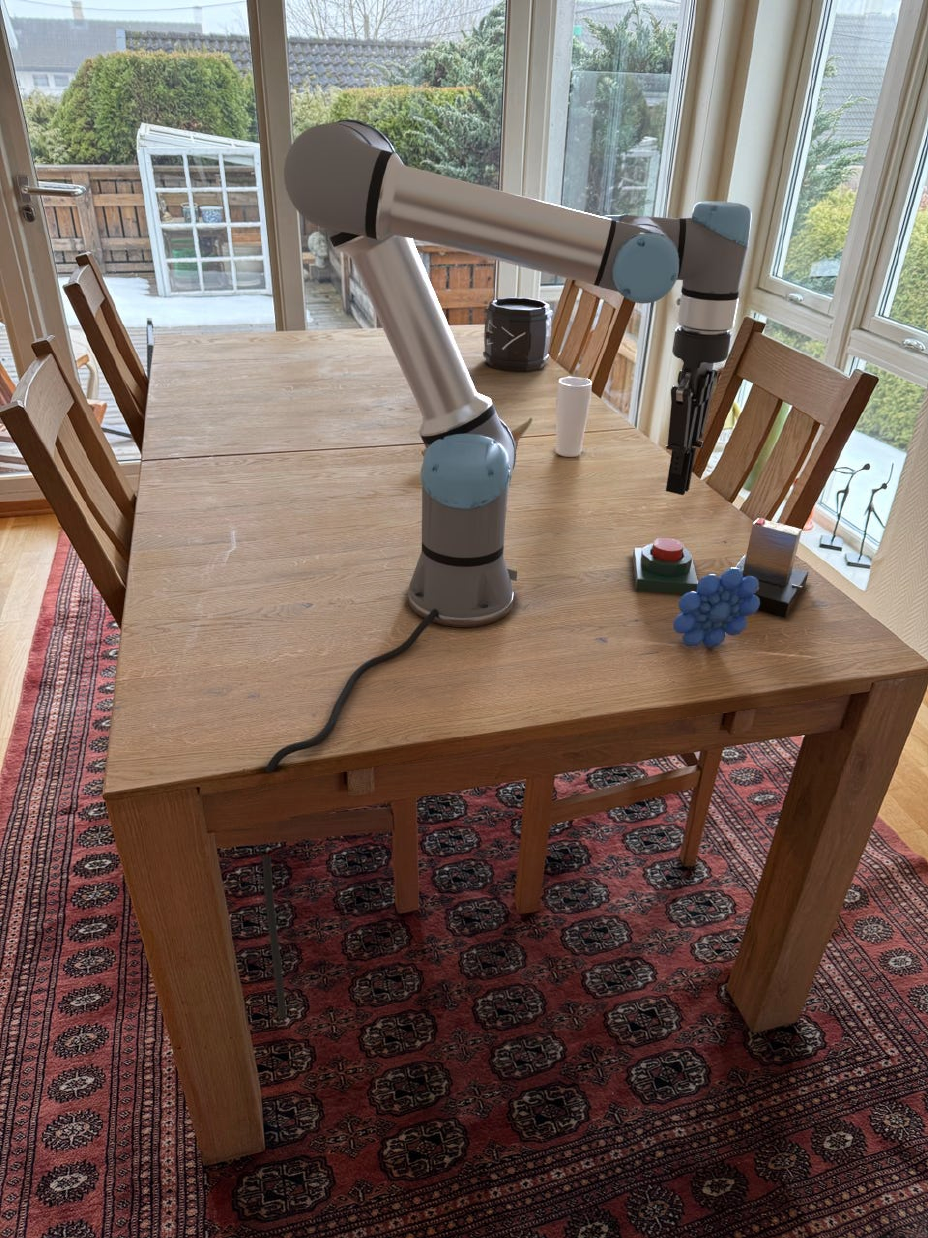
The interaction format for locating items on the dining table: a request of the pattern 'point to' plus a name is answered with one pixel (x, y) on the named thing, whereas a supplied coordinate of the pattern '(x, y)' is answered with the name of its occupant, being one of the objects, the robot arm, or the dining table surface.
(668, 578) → the button housing
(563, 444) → the drinking glass
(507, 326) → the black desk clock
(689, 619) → the blue flower
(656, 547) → the button
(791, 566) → the silver rectangular block
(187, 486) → the dining table surface
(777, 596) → the black stand base
